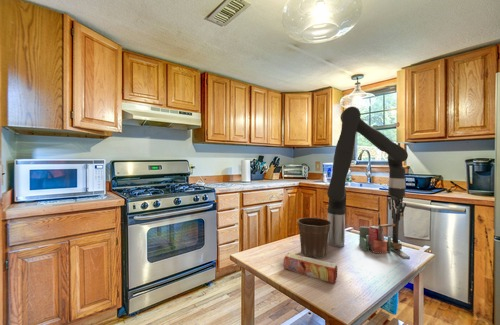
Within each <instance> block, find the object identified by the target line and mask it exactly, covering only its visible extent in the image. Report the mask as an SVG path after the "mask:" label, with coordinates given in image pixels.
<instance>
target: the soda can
mask: <svg viewBox="0 0 500 325" xmlns="http://www.w3.org/2000/svg"><path fill="white" fill-rule="evenodd" d="M369 227H370V228H369V246H368V249H370V250H372V251H373V240H378V227H379V225H374V224H373V225H369ZM384 236H385V232H384V228H383V229H382V240H384V238H385V237H384Z"/></svg>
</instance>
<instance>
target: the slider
mask: <svg viewBox="0 0 500 325" xmlns="http://www.w3.org/2000/svg"><path fill="white" fill-rule="evenodd" d="M397 210H398V209H397ZM399 224H400V221H396V220H395V209H394V207H393V219H392V223H387V224H386V223H385V224H379V225H378V226H379V227H378V240H373V250H372V252H373V253H374V254H388V252H387V241H386V240H387V239H386V240H382V228H383V229H384V228H389V227H390V228H391V227H392V236H391V248H393V249H399V250H401V251H402V249H403V243H401V242H399V228H400V227H399V226H400V225H399Z"/></svg>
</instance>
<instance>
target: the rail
mask: <svg viewBox="0 0 500 325" xmlns="http://www.w3.org/2000/svg"><path fill="white" fill-rule="evenodd" d="M391 251H392V252H394V253H396V254H397V255H398V256H399V257H401V258H402V259H410V258H411V257H410V255H409V254H407V253H405V252H404V251H402V250H399V249H393V248H391Z"/></svg>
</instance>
